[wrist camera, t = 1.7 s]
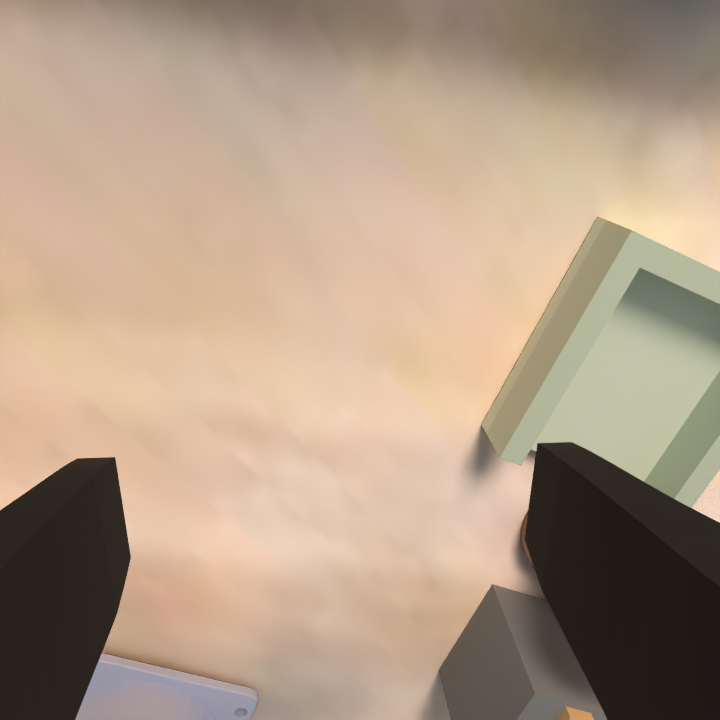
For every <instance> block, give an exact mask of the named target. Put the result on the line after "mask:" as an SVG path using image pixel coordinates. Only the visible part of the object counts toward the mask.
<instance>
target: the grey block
mask: <svg viewBox="0 0 720 720" xmlns="http://www.w3.org/2000/svg"><path fill="white" fill-rule="evenodd" d="M439 671H440V675H441V680H442V684H443V688H444V692H445V696H446V700H447V705H448V709H449V713H450V717H451V720H607V718H606V716H605V714H604V712H603V709H602V707H601V706H600V704H599V702H598V700H597V698H596V696H595V694H594V692H593V690H592V688H591V686H590V684H589V682H588V680H587V678H586V676H585V674H584V672H583V670H582V668H581V666H580V664H579V663H578V661H577V659H576V657H575V655H574V653H573V651H572V649H571V647H570V645H569V643H568V641H567V639H566V637H565V635H564V633H563V631H562V629H561V627H560V625H559V623H558V621H557V619H556V617H555V615H554V613H553V611H552V609H551V607H550V605H549V603H548V601H546V600H543V599H539V598H536V597H533V596H529V595H526V594H523V593H519V592H516V591H513V590H510V589H506V588H503V587H500V586H496V585H493V584H492V586H491V587H490V589H489V591H488V592H487V594H486V595H485V597H484V599H483V600H482V602H481V603H480V605H479V607H478V608H477V610H476V611H475V613H474V615H473V616H472V618H471V619H470V621H469V623H468V624H467V626H466V627H465V629H464V630H463V632H462V634H461V635H460V637H459V638H458V640H457V642H456V643H455V645H454V646H453V648H452V650H451V651H450V653H449V654H448V656H447V658H446V659H445V661H444V662H443V664H442V666H441V667H440V669H439Z"/></svg>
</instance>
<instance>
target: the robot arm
mask: <svg viewBox="0 0 720 720" xmlns="http://www.w3.org/2000/svg"><path fill="white" fill-rule="evenodd" d="M525 542H526V545H527V548H528V551H529V554H530V557H531V560H532V563H533V566H534V569H535V572H536V575H537V578H538V580H539V583H540V586H541V589H542V591H543V593H544V595H545V597H546V599H547V601H548V603H549V605H550V607H551V609H552V611H553V613H554V615H555V617H556V619H557V621H558V623H559V625H560V627H561V629H562V631H563V633H564V635H565V637H566V639H567V641H568V643H569V645H570V647H571V649H572V651H573V653H574V655H575V657H576V659H577V661H578V663H579V664H580V666H581V668H582V670H583V672H584V674H585V676H586V678H587V680H588V682H589V684H590V686H591V688H592V690H593V692H594V694H595V696H596V698H597V700H598V702H599V704H600V706H601V707H602V709H603V712H604V714H605V716H606V718H607V720H720V523H719V522H717V521H715V520H713V519H711V518H709V517H707V516H705V515H703V514H701V513H699V512H697V511H696V510H694V509H692V508H690V507H688V506H686V505H684V504H683V503H681V502H679V501H677V500H675V499H674V498H672V497H670V496H668V495H666V494H665V493H663V492H661V491H659V490H658V489H656V488H654V487H652V486H651V485H649V484H647V483H645V482H644V481H642V480H640V479H638V478H637V477H635V476H633V475H631V474H630V473H628V472H626V471H625V470H623V469H621V468H619V467H618V466H616V465H614V464H612V463H611V462H609V461H607V460H605V459H604V458H602V457H600V456H598V455H596V454H595V453H593V452H591V451H589V450H587V449H585V448H583V447H581V446H579V445H577V444H575V443H572V442H557V443H537V450H536V457H535V465H534V472H533V480H532V487H531V495H530V502H529V510H528V517H527V525H526V532H525ZM130 558H131V556H130V550H129V544H128V537H127V531H126V524H125V518H124V512H123V505H122V499H121V492H120V486H119V480H118V473H117V467H116V460H115V457H111V458H81V459H76V460H74V461H72V462H71V463H69V464H67V465H66V466H64V467H62V468H61V469H59V470H58V471H56V472H55V473H53V474H52V475H51V476H49V477H48V478H46V479H45V480H43V481H42V482H40V483H39V484H38V485H36V486H35V487H33V488H32V489H31V490H29V491H28V492H26V493H25V494H23V495H22V496H21V497H19V498H18V499H16V500H15V501H13V502H12V503H10V504H9V505H8V506H6V507H5V508H3V509H2V510H0V720H250V718H251V716H252V714H253V712H254V710H255V708H256V706H257V703H258V694H257V692H256V691H255V690H254V689H251V688H248V687H244V686H240V685H235V684H231V683H227V682H223V681H218V680H214V679H210V678H206V677H201V676H197V675H193V674H189V673H185V672H180V671H176V670H172V669H168V668H163V667H159V666H155V665H151V664H146V663H142V662H138V661H134V660H129V659H125V658H121V657H117V656H112V655H108V654H104V653H102V651H103V648H104V646H105V643H106V641H107V638H108V635H109V633H110V630H111V628H112V625H113V622H114V620H115V617H116V614H117V611H118V607H119V604H120V600H121V596H122V592H123V588H124V584H125V580H126V576H127V571H128V567H129V563H130Z"/></svg>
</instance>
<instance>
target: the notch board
mask: <svg viewBox="0 0 720 720" xmlns="http://www.w3.org/2000/svg"><path fill="white" fill-rule="evenodd" d="M482 427H483V429H484V430H485V432H486V434H487V436H488V438H489V440H490V441H491V443H492V445H493V447H494V449H495V451H496V452H497V454H498V456H499V458H501V459H504V460H507V461H509V462H512V463H515V464H518V465H522V463H523V462H524V460H525V458H526V457H527V455H528V453H529V452H530V450H533V451H536V450H537V443H557V442H572V443H575V444H577V445H579V446H581V447H583V448H585V449H587V450H589V451H591V452H593V453H595V454H596V455H598V456H600V457H602V458H604V459H605V460H607V461H609V462H611V463H612V464H614V465H616V466H618V467H619V468H621V469H623V470H625V471H626V472H628V473H630V474H631V475H633V476H635V477H637V478H638V479H640V480H642V481H644V482H645V483H647V484H649V485H651V486H652V487H654V488H656V489H658V490H659V491H661V492H663V493H665V494H666V495H668V496H670V497H672V498H674V499H675V500H677V501H679V502H681V503H683V504H684V505H686V506H688V507H690V508H692V507H693V505H694V504H695V502H696V501H697V500H698V498H699V497H700V496H701V494H702V493H703V491H704V490H705V489H706V487H707V486H708V485H709V483H710V482H711V480H712V479H713V478H714V476H715V475H716V474H717V472H718V471H719V469H720V272H718V271H716V270H714V269H712V268H710V267H708V266H706V265H704V264H702V263H699V262H697V261H695V260H693V259H691V258H689V257H687V256H685V255H683V254H680V253H678V252H676V251H674V250H672V249H670V248H668V247H666V246H664V245H661V244H659V243H657V242H655V241H653V240H651V239H649V238H647V237H645V236H643V235H640V234H638V233H636V232H634V231H632V230H629V229H627V228H624V227H622V226H619V225H617V224H614V223H612V222H610V221H607V220H605V219H602V218H600V217H597V219H596V221H595V223H594V225H593V226H592V228H591V230H590V232H589V233H588V235H587V237H586V239H585V241H584V242H583V244H582V246H581V248H580V250H579V251H578V253H577V255H576V257H575V259H574V260H573V262H572V264H571V266H570V267H569V269H568V271H567V273H566V275H565V276H564V278H563V280H562V282H561V284H560V285H559V287H558V289H557V291H556V293H555V294H554V296H553V298H552V300H551V301H550V303H549V305H548V307H547V309H546V310H545V312H544V314H543V316H542V318H541V319H540V321H539V323H538V325H537V327H536V328H535V330H534V332H533V334H532V335H531V337H530V339H529V341H528V343H527V344H526V346H525V348H524V350H523V352H522V353H521V355H520V357H519V359H518V361H517V362H516V364H515V366H514V368H513V369H512V371H511V373H510V375H509V377H508V378H507V380H506V382H505V384H504V386H503V387H502V389H501V391H500V393H499V395H498V396H497V398H496V400H495V402H494V403H493V405H492V407H491V409H490V411H489V412H488V414H487V416H486V418H485V420H484V421H483V423H482Z"/></svg>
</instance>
